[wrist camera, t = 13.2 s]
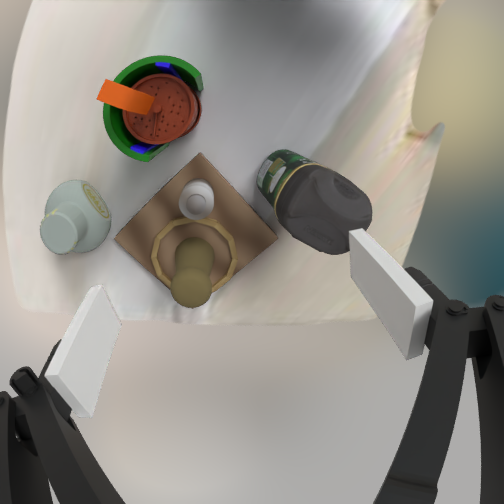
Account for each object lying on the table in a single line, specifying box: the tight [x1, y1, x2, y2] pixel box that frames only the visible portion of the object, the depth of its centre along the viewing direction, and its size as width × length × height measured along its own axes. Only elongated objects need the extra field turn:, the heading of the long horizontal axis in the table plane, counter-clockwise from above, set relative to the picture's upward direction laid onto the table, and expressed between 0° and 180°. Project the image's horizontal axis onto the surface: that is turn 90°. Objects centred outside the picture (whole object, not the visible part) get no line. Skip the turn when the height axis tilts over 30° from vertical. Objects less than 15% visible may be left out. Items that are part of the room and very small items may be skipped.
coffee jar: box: [257, 150, 372, 255], centre depth 37 cm, size 10×8×19 cm
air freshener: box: [40, 180, 111, 255], centre depth 39 cm, size 11×8×10 cm
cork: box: [170, 237, 215, 308], centre depth 42 cm, size 6×6×11 cm
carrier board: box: [114, 153, 278, 309], centre depth 44 cm, size 18×17×8 cm
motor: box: [97, 56, 203, 162], centre depth 30 cm, size 10×9×20 cm
